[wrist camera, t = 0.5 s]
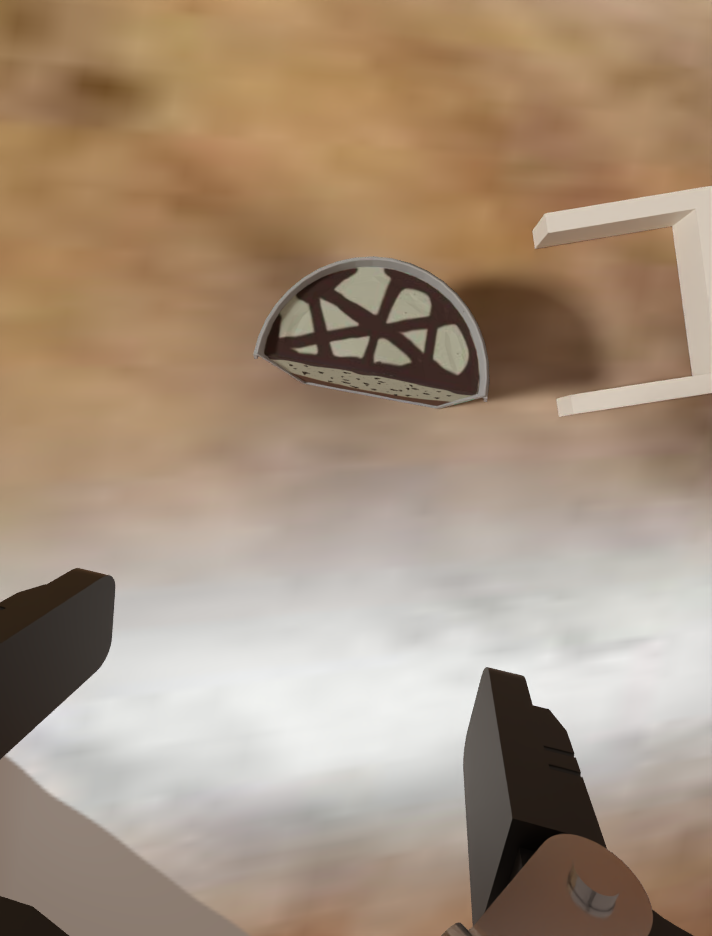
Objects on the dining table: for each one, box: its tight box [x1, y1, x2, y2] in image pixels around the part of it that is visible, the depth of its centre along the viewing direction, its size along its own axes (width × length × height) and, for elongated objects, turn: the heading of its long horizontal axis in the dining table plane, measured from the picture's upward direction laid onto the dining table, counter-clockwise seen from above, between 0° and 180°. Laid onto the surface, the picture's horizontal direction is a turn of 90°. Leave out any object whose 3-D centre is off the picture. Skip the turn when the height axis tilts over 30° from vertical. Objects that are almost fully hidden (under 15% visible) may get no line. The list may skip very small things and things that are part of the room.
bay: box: [533, 186, 712, 417], centre depth 33 cm, size 12×10×2 cm
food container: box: [254, 257, 489, 409], centre depth 30 cm, size 12×6×10 cm, turn 79°
